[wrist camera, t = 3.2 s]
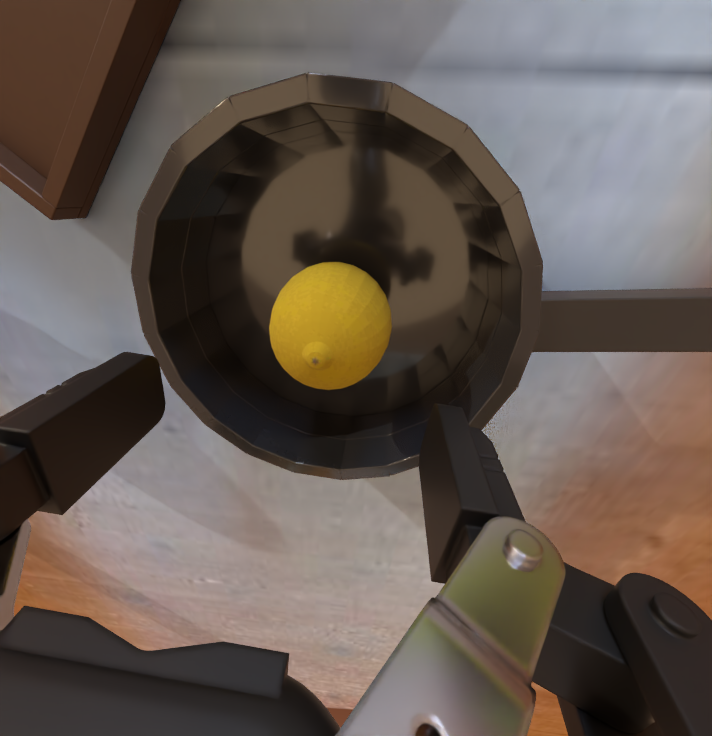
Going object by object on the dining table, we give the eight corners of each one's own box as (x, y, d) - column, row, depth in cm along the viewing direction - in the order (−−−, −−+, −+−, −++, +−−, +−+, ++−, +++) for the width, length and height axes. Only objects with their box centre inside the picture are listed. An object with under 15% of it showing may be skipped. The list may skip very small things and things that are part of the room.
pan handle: (512, 340, 16) (522, 352, 15) (522, 291, 15) (533, 299, 14) (767, 339, 15) (802, 352, 14) (798, 286, 14) (838, 294, 13)
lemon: (290, 252, 18) (226, 287, 11) (391, 248, 18) (392, 283, 11) (302, 344, 21) (256, 421, 14) (391, 344, 20) (391, 424, 13)
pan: (326, 6, 14) (292, -98, 9) (568, 295, 18) (632, 330, 13) (148, 302, 21) (74, 334, 16) (353, 459, 25) (345, 522, 20)
